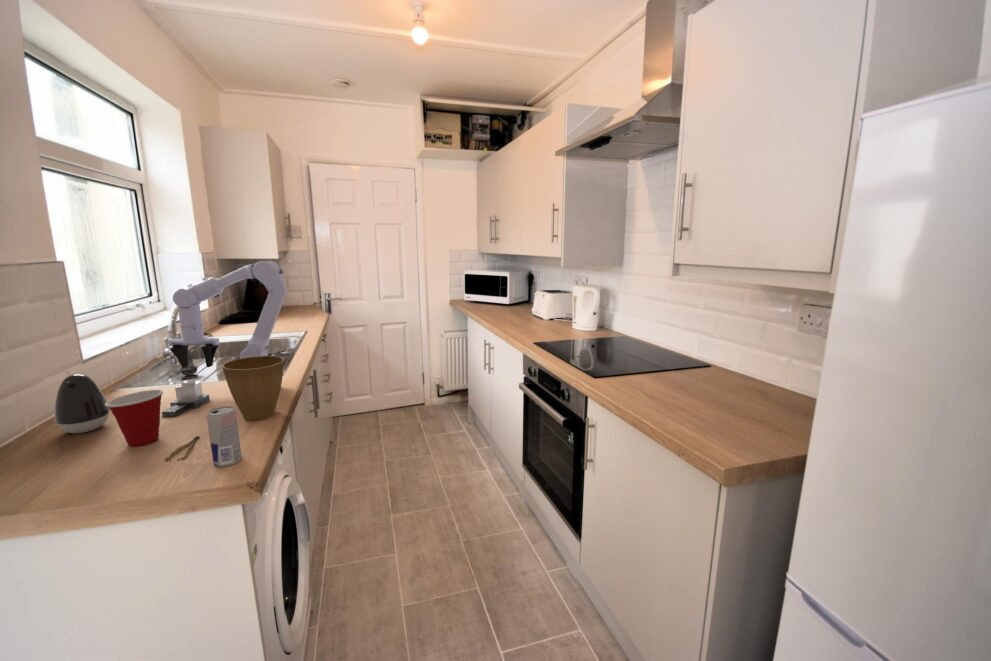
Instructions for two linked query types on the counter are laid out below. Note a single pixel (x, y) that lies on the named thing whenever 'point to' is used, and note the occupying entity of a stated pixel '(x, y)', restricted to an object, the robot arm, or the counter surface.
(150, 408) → the plastic cup
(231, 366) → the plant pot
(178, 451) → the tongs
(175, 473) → the counter surface
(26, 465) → the counter surface
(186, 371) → the salt shaker
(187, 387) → the cube with round knob
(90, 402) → the grey egg-shaped dome
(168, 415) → the dark grey piece
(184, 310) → the robot arm
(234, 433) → the energy drink
